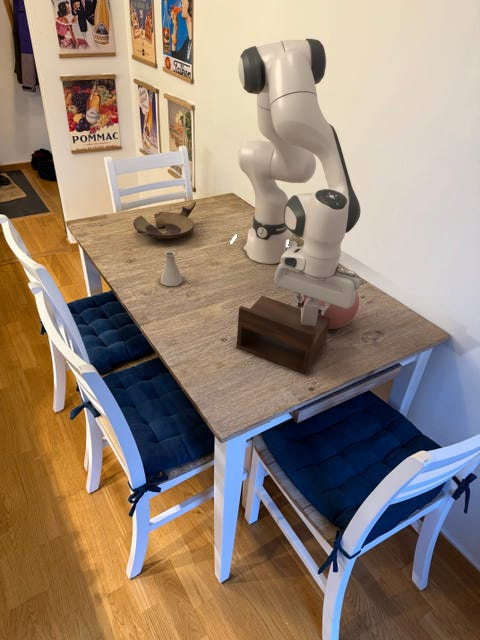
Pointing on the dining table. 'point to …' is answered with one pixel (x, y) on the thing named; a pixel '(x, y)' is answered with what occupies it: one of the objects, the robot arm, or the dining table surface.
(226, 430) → the dining table surface
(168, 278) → the flask
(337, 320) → the balloon
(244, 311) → the rack
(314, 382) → the dining table surface
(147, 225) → the broken brown bowl
